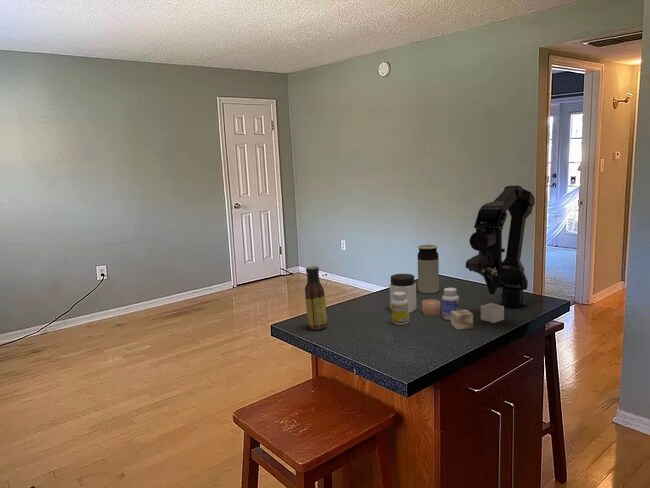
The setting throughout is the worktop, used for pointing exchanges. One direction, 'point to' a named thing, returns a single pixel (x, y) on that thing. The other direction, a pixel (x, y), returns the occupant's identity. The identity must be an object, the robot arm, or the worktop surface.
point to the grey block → (492, 312)
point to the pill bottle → (449, 302)
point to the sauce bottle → (315, 300)
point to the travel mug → (428, 269)
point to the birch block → (462, 319)
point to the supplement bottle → (400, 308)
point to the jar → (404, 289)
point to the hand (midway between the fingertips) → (491, 294)
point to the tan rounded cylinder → (431, 307)
